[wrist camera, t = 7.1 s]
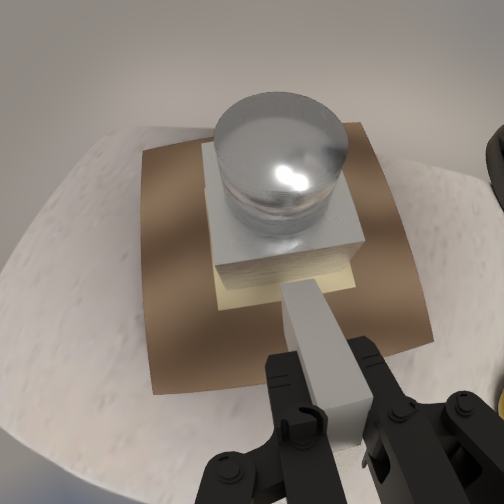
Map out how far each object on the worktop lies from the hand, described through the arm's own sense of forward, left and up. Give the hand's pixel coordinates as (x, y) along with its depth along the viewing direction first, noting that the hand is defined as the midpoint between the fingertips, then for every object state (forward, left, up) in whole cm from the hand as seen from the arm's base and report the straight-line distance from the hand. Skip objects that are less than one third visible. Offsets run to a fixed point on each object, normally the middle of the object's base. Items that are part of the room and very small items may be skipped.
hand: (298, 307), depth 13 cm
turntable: (+4, -2, -5) cm, 7 cm away
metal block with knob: (+5, -2, -3) cm, 6 cm away
